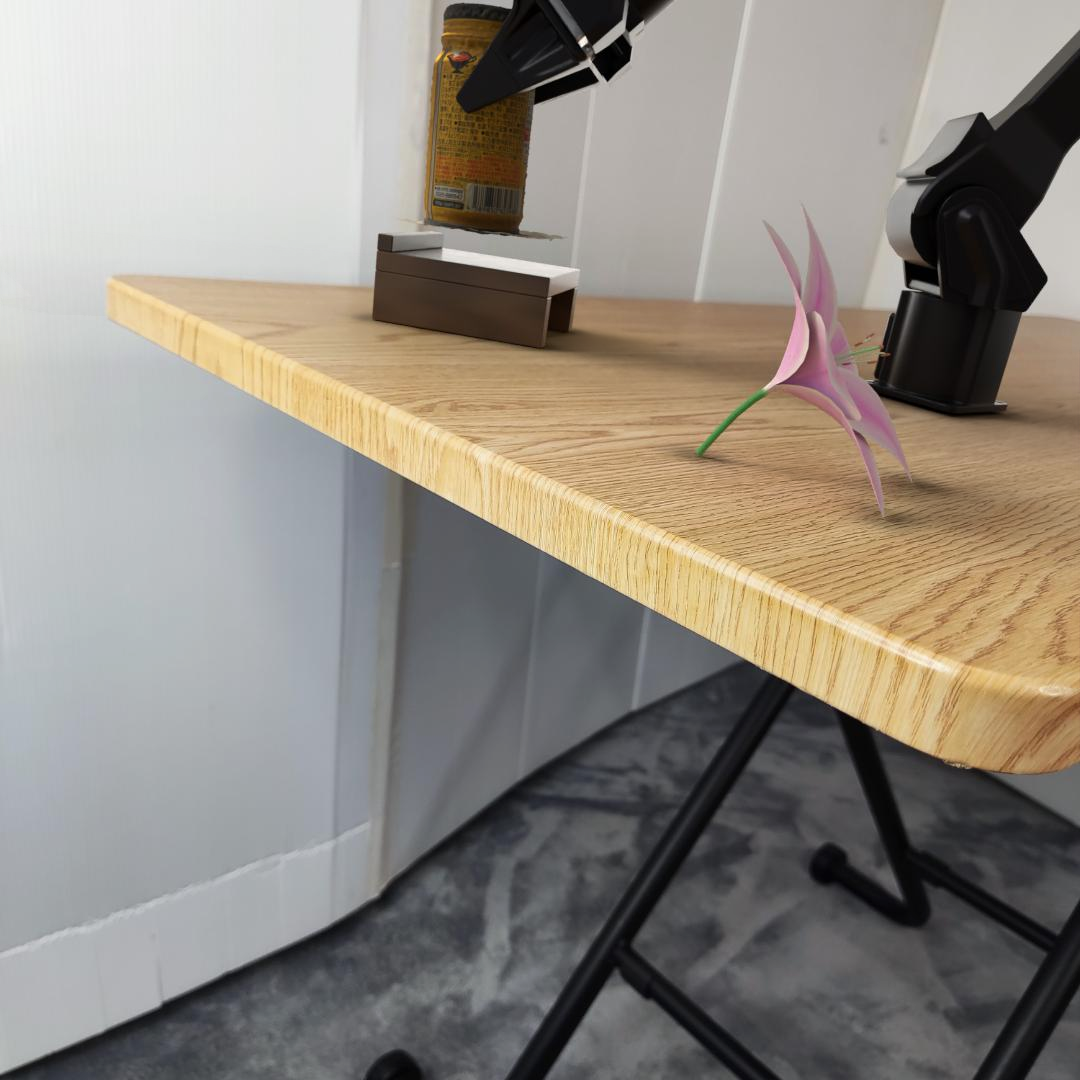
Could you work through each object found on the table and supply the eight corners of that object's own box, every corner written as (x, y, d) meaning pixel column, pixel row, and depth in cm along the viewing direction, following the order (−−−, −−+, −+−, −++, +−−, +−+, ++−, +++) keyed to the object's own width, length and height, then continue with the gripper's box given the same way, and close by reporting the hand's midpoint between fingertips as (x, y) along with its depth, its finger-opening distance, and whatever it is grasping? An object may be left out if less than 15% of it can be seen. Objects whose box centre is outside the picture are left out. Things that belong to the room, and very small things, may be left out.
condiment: (451, 223, 62) (467, 19, 58) (569, 240, 60) (595, 26, 55) (392, 223, 56) (404, -7, 52) (520, 242, 53) (545, 0, 49)
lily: (738, 563, 30) (973, 320, 26) (554, 346, 36) (723, 126, 33) (878, 599, 39) (1067, 422, 35) (712, 420, 45) (857, 255, 42)
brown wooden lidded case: (571, 330, 67) (582, 254, 65) (540, 348, 58) (552, 260, 56) (424, 305, 69) (431, 231, 67) (371, 319, 59) (377, 233, 58)
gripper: (609, -159, 59) (420, 20, 63) (589, -313, 41) (330, -49, 46) (713, -1, 61) (523, 161, 65) (735, -83, 43) (475, 146, 48)
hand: (471, 111), depth 56 cm, fingers closed on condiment, 6 cm apart
